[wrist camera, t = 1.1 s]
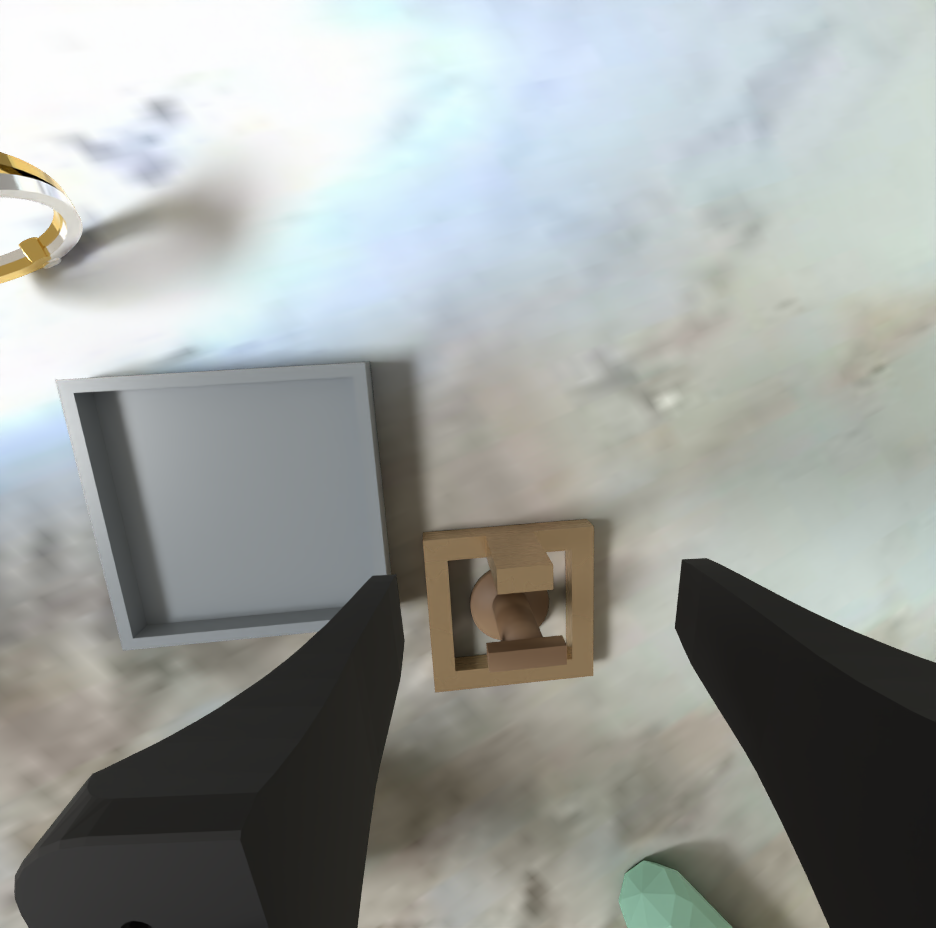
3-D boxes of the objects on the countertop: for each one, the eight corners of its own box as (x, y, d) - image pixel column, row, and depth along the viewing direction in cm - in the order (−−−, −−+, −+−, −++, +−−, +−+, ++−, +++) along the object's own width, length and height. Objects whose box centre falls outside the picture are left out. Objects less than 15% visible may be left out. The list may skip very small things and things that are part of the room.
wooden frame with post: (586, 662, 28) (621, 729, 23) (434, 678, 27) (436, 750, 22) (586, 518, 26) (625, 557, 21) (423, 532, 25) (421, 576, 20)
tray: (394, 604, 26) (391, 624, 24) (146, 627, 25) (122, 650, 23) (370, 361, 23) (364, 362, 21) (88, 377, 22) (55, 379, 20)
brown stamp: (547, 631, 27) (575, 695, 22) (472, 639, 27) (482, 705, 22) (546, 561, 26) (575, 610, 21) (468, 568, 26) (477, 620, 21)
